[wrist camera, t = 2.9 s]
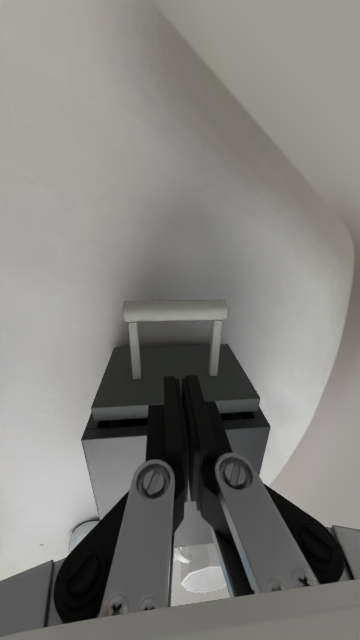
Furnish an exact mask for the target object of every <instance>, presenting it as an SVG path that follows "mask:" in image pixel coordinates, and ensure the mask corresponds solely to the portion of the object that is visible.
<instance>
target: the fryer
mask: <svg viewBox="0 0 360 640" xmlns="http://www.w3.org/2000/svg"><path fill="white" fill-rule="evenodd" d="M240 413H241V416H242V418H243V419H240V420H224V421H222V422H223V425H224V428H225V431H226V434H227V437H228V440H229V443H230V446H231V449H232V452H233V453H236V454H240V455H242V456H244V457H245V458H246V459H248V460H249V461H250V462H251V464H252V465H253V466H254V468H255V470H256V472H257V473H258V475H259V474H260V470H261V465H262V461H263V457H264V452H265V448H266V444H267V440H268V435H269V431H270V425H269V423H268V421H267V420H266V418H265V416H264V414H263V413H262V411H261V409H260V407H259V408H258V411H251V412H240ZM110 421H111V420H105V421H94V420H93V415H92V412H91V415H90V418H89V421H88V423H87V426H86V429H85V431H84V434H83V436H82V439H81V441H82V445H83V449H84V454H85V458H86V462H87V467H88V471H89V475H90V480H91V484H92V488H93V493H94V497H95V501H96V506H97V510H98V514H99V519H100V520H101V519H102V518H103V517H104V516H105V515H106V514H107V513H108V512H109V511H110V510H111V509H112V508H113V507H114V506H115V505H116V504H117V503H118V501H119V500H120V499H121V498H122V497H123V496H124V495H125V494H126V493H127V492H128V491H129V490H130V486H131V482H132V478H133V476H134V473H135V471H136V470H137V469H138V467H139V466H140V465H142V464H143V463H144V462H145V461H146V442H147V426H132V427H116V428H109V425H110ZM211 543H214V541H213V538H212V534H211V531H210V525H209V524H208V523H207V522H206V521H205V520H204V519H203V518H202V517H201V512H200V511H197V505H196V501H194V502H191V497H190V490H189V482H188V494H187V502H185V503H184V519H183V521H182V522H181V524H180V525H179V527H178V529H177V530H176V532H175V541H174V548H176V547H184V546H193V545H202V544H211Z"/></svg>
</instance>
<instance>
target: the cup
mask: <svg viewBox="0 0 360 640" xmlns="http://www.w3.org/2000/svg"><path fill="white" fill-rule="evenodd" d="M174 554H175V556H176V557H177V558H178V559H179V560H180V561H181V562H182V563H181V585H182V586H184V587H185V588H186V589H187V590H188V591H189V592H199V593H200V592H201V593H209V592H212V591H215V590H219V589H221V588H224V587H227V585H226V581H225V578H224V575H223V571H222V568H221V565H220V561H219V558H218V555H217V551H216V548H215V544H214V543H211V544H202V545H193V546H184V547H182V551H181V550H180V548H179V547H176V548H174Z"/></svg>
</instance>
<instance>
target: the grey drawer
mask: <svg viewBox="0 0 360 640" xmlns="http://www.w3.org/2000/svg"><path fill="white" fill-rule="evenodd" d="M227 314H228V306H227V302H226V300H175V301H125V302H124V304H123V317H124V321H125V322H128V327H129V339H130V347H124V348H114V350H113V352H112V355H111V357H110V360H109V363H108V365H107V368H106V371H105V373H104V376H103V378H102V381H101V384H100V386H99V389H98V391H97V394H96V397H95V399H94V402H93V404H92V407H91V410H92V415H93V420H94V421H105V420H111V421H110V425H109V428H116V427H132V426H147V423H148V406H149V405H160V404H164V376H175V379H179V383H180V390H181V397H182V378H186V375H197V376H198V380H199V383H200V387H201V390H202V394H203V398H204V401H205V402H208V401H215V402H216V405H217V408H218V411H219V413H220V416H221V419H222V421H224V420H240V419H243V418H242V416H241V413H240V412H251V411H258V408H259V402H260V397H259V395H258V394H257V392H256V390H255V389H254V387H253V385H252V384H251V382H250V380H249V379H248V377H247V375H246V374H245V372H244V370H243V369H242V367H241V365H240V364H239V362H238V360H237V359H236V357H235V355H234V354H233V352H232V350H231V349H230V347H229V345H228V344H220V340H221V329H222V320H223V319H226V318H227ZM181 320H212V330H211V344H210V345H183V346H154V347H139V334H138V322H139V321H181Z"/></svg>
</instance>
